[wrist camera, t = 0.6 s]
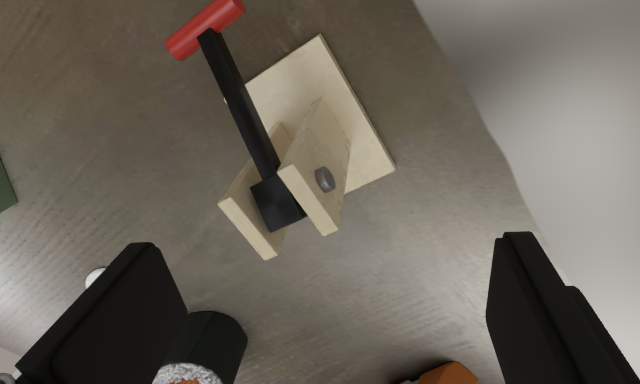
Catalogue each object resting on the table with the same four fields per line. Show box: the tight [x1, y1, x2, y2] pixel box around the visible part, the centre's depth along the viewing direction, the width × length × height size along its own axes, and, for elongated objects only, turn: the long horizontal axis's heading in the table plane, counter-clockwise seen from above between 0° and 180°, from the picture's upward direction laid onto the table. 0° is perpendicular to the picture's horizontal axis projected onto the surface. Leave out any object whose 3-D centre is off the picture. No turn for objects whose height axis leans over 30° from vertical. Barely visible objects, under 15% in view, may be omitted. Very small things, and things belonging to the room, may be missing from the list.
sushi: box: [153, 312, 248, 384], centre depth 42 cm, size 8×8×8 cm
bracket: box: [217, 33, 395, 260], centre depth 24 cm, size 12×9×13 cm
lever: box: [165, 0, 308, 233], centre depth 20 cm, size 13×5×2 cm, turn 32°
